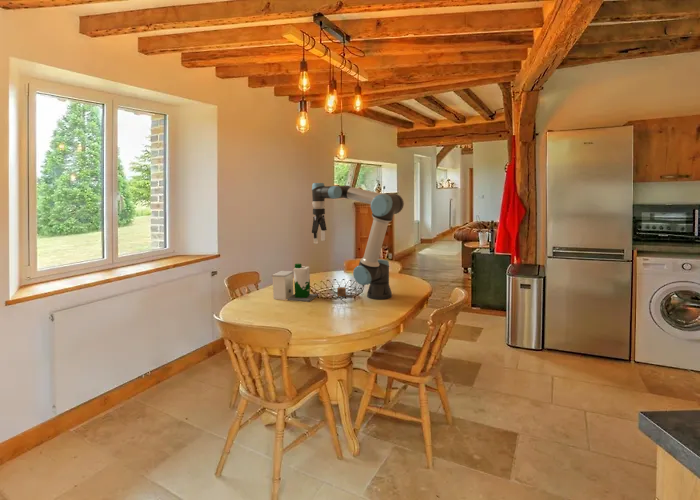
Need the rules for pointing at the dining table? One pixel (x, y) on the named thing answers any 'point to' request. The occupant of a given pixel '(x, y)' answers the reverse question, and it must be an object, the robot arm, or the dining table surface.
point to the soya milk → (301, 281)
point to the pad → (302, 298)
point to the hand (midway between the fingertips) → (319, 242)
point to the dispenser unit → (282, 285)
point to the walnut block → (341, 291)
